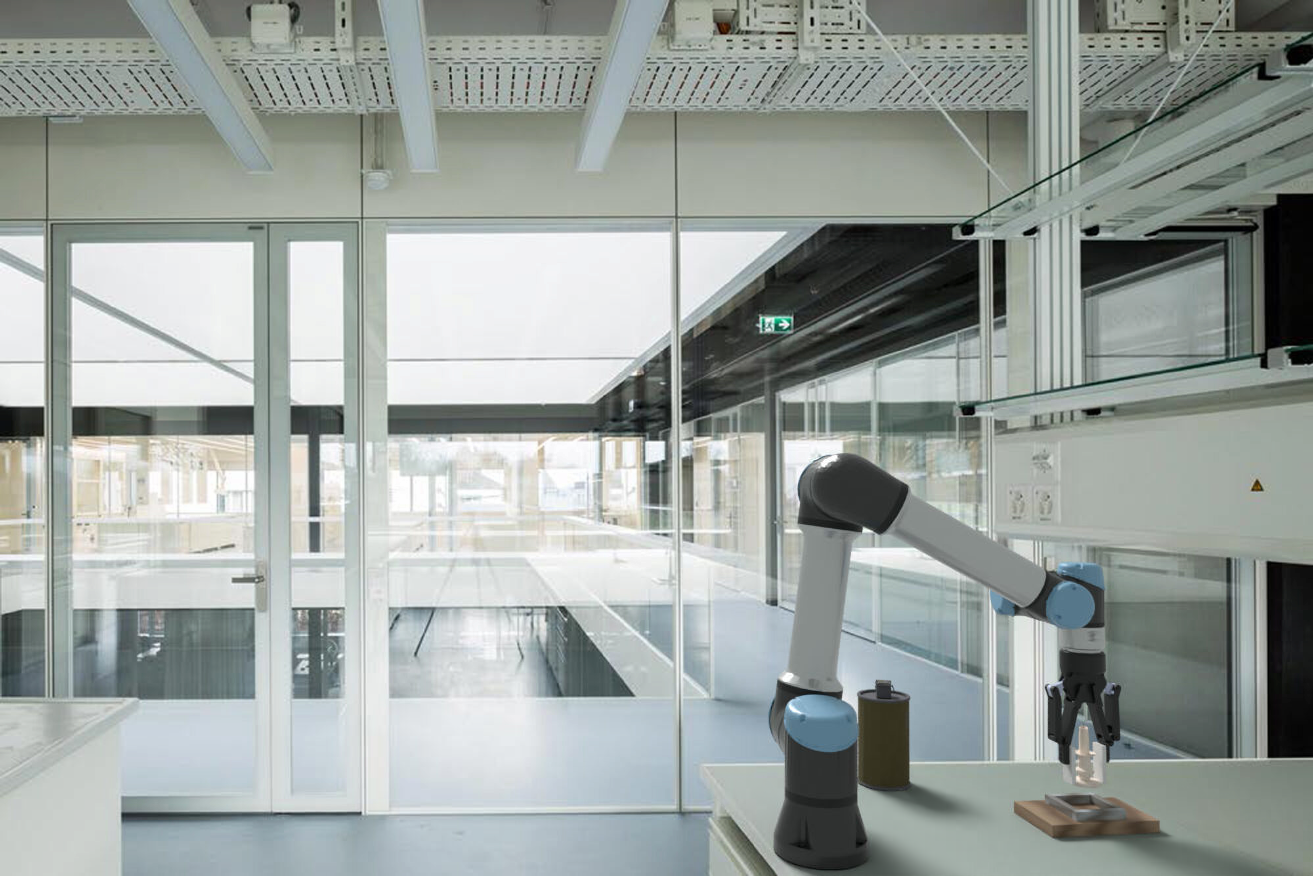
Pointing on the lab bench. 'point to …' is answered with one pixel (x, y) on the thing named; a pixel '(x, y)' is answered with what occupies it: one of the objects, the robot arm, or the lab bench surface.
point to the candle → (1085, 761)
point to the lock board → (1085, 815)
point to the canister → (883, 738)
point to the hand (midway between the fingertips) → (1084, 781)
